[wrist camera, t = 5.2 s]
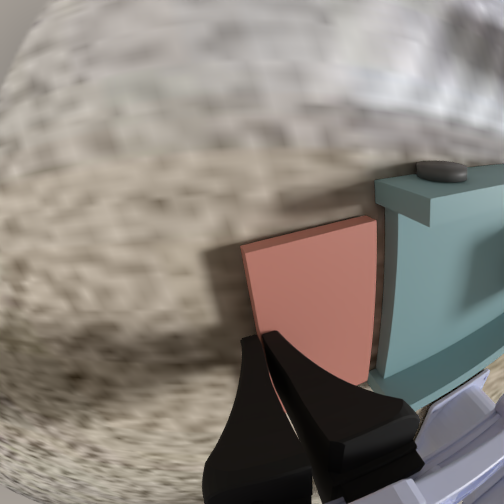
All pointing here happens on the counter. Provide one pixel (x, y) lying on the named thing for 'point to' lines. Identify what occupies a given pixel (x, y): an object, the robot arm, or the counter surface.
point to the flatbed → (440, 279)
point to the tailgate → (318, 293)
